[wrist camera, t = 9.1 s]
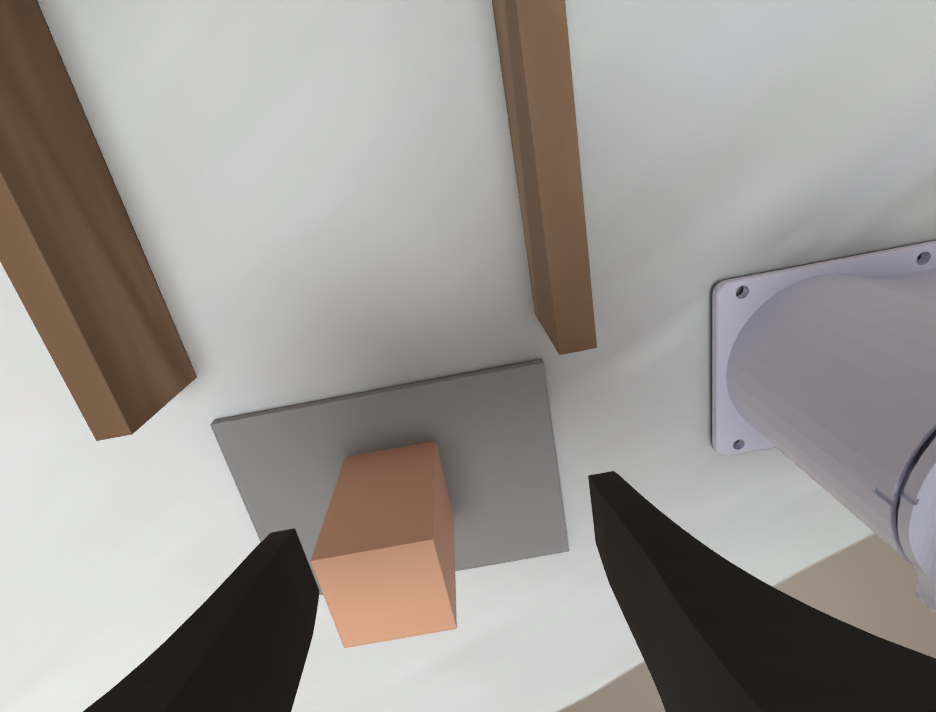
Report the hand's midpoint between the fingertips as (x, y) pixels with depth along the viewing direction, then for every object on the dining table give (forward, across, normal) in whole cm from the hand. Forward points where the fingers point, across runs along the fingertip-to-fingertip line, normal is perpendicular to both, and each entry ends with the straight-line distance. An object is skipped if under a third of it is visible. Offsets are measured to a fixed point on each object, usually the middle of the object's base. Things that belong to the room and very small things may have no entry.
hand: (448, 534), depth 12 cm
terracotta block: (+9, +3, +5) cm, 11 cm away
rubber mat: (+9, +3, +5) cm, 11 cm away
